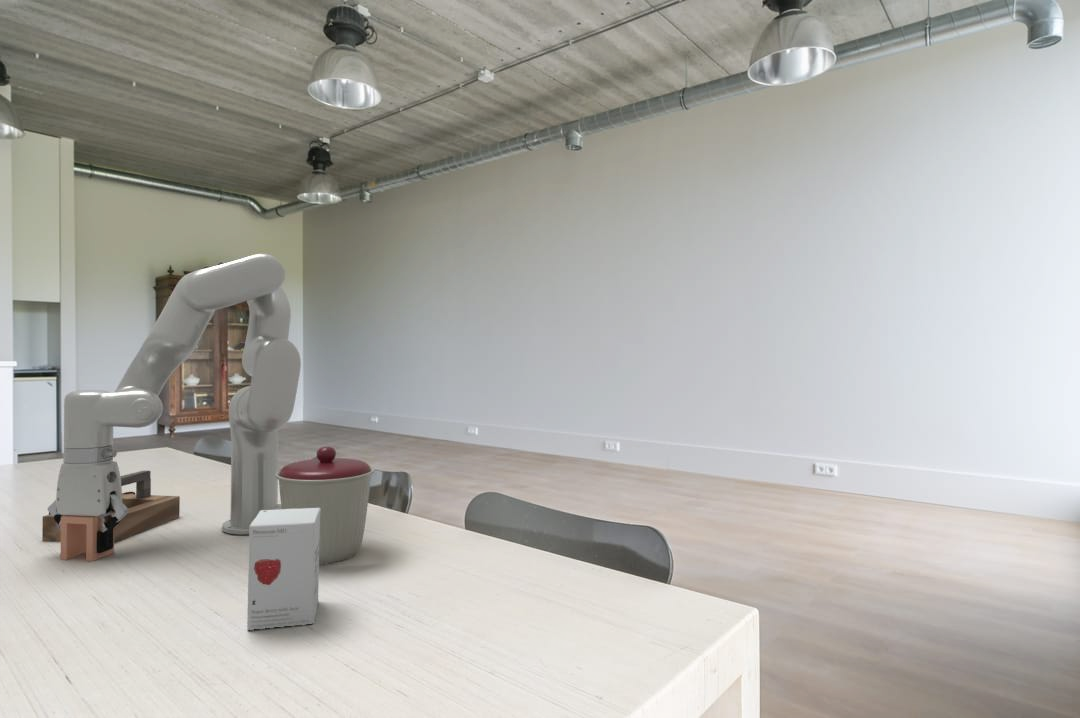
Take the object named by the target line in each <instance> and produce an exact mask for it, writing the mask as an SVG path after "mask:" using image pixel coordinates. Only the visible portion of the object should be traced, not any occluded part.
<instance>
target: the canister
mask: <svg viewBox="0 0 1080 718" xmlns="http://www.w3.org/2000/svg"><path fill="white" fill-rule="evenodd" d="M336 456H337V451H336V449H335V448H334V447H332V446H322V447H320V448H318V449H317V451H316V457H317V458H312V459H303V460H299V461H294V462H292V463H289V464H287V465H285V466H283V467H282V468H281V469H278V471H277V472H276V473H275V477H276V478H277V479H278V488H279V498H280V504H281V508H282V509H303V508H320V509H321V510H320V541H319V565H325V564H332V563H337V562H341V561H344V560H347V559H349V558H350V559H351V557H353V556H354V555H356V553H358V551H359V550H360V548H361V547H362V543H363V539H364V536H365V535H364V534H365V527H366V521H367V514H368V505H369V497H370V490H371V489H370V488H371V479H372V475H373V474H374V473H375V471H376V469H375V467H373V466H372V465H369V463H367V462H365V461H363V460H360V459H354V458H347V457H346V458H345V457H342V458H341V457H336Z"/></svg>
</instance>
